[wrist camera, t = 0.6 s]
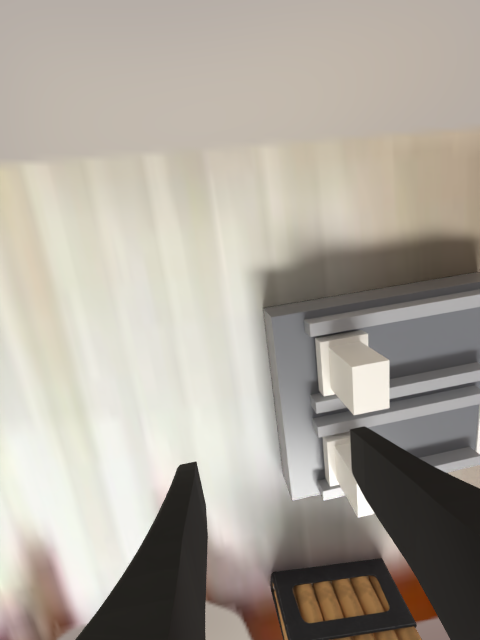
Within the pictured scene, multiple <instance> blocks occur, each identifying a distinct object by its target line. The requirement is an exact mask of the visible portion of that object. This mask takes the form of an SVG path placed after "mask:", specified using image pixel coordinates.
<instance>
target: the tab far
mask: <svg viewBox="0 0 480 640" xmlns="http://www.w3.org/2000/svg"><path fill="white" fill-rule="evenodd" d="M322 438H323V452H324V465H325V478H326V480H327V482H328V484H329V485H330V486H335V485H340V487H341V489H342V490H343V492H344V494H345V496H346V497H347V499H348V501H349V503H350V504H351V506H352V508H353V510H354V511H355V513H356V515H357V517H358V518H359V517H363V516H367V515H372V514H375V513H374V511H373V510H372V508H371V507H370V505H369V504H368V502H367V501H366V499H365V497H364V495H363V494H362V492H361V490H360V488H359V486H358V484H357V482H356V480H355V478H354V476H353V474H352V465H351V443H350V431H349V432H344V433H339V434H334V435H330V436H325V437H322Z"/></svg>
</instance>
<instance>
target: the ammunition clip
mask: <svg viewBox="0 0 480 640" xmlns="http://www.w3.org/2000/svg"><path fill="white" fill-rule="evenodd" d="M271 592H272V596H273V600H274V604H275V608H276V612H277V616H278V620H279V624H280V628H281V632H282V636H283V640H422V639H421V637H420V636H419V634H418V632H417V630H416V622H415V620H414V619H413V617H412V615H411V613H410V611H409V609H408V607H407V605H406V603H405V602H404V600H403V598H402V596H401V594H400V592H399V590H398V588H397V586H396V584H395V582H394V580H393V579H392V577H391V575H390V573H389V571H388V569H387V567H386V565H385V563H384V561H383V560H382V559H373V560H366V561H358V562H350V563H342V564H334V565H327V566H319V567H311V568H303V569H295V570H288V571H280V572H273V574H272V575H271ZM297 604H298V605H297Z"/></svg>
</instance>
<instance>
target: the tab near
mask: <svg viewBox="0 0 480 640" xmlns="http://www.w3.org/2000/svg"><path fill="white" fill-rule="evenodd" d="M315 345H316V358H317V372H318V385H319V391H320V392H321V394H322V395H323V396H328V395H334V394H336V395H337V397H338V398H339V399H340V400H341V401H342V402H343V403H344V405H345V406H346V407H347V408H348V409H349V410H350V411H351V413H352V414H353V415H358V414H363V413H368V412H373V411H378V410H383V409H388V408H390V403H389V360H388V359H387V358H385V357H384V356H382V355H381V354H379V353H378V352H376V351H374V350H373V349H371V348H370V347H368V333H366V332H364V331H362V330H358V331H352V332H347V333H341V334H336V335H330V336H325V337H319V338H315Z"/></svg>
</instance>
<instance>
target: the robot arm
mask: <svg viewBox="0 0 480 640" xmlns="http://www.w3.org/2000/svg"><path fill="white" fill-rule="evenodd" d="M350 443H351V465H352V474H353V476H354V478H355V480H356V482H357V484H358V486H359V488H360V490H361V492H362V494H363V495H364V497H365V499H366V501H367V502H368V504H369V505H370V507H371V508H372V510H373V511H374V513H375V514H376V516H377V517H378V519H379V521H380V522H381V524H382V525H383V527H384V528H385V530H386V531H387V533H388V534H389V535H390V537H391V538H392V540H393V541H394V543H395V544H396V546H397V547H398V549H399V550H400V552H401V553H402V555H403V556H404V558H405V559H406V561H407V563H408V564H409V566H410V567H411V569H412V571H413V572H414V574H415V576H416V577H417V579H418V581H419V583H420V585H421V586H422V588H423V590H424V592H425V594H426V595H427V597H428V599H429V601H430V602H431V604H432V606H433V608H434V610H435V612H436V613H437V615H438V617H439V619H440V621H441V623H442V625H443V626H444V628H445V630H446V632H447V634H448V636H449V638H450V640H480V488H477V487H475V486H473V485H471V484H468V483H466V482H464V481H462V480H460V479H458V478H456V477H453V476H451V475H449V474H448V473H446V472H444V471H442V470H440V469H438V468H436V467H434V466H432V465H430V464H428V463H427V462H425V461H423V460H421V459H419V458H418V457H416V456H414V455H412V454H411V453H409V452H407V451H405V450H404V449H402V448H400V447H399V446H397V445H395V444H394V443H392V442H390V441H389V440H387V439H386V438H384V437H382V436H381V435H379V434H377V433H376V432H374V431H372V430H371V429H369V428H367V427H365V426H363V427H359V428H354V429H350ZM207 539H208V533H207V517H206V504H205V499H204V495H203V490H202V486H201V481H200V476H199V472H198V467H197V462H191V463H187V464H182V465H180V466H179V467H178V468H177V471H176V474H175V476H174V479H173V481H172V484H171V486H170V489H169V491H168V493H167V495H166V498H165V500H164V502H163V504H162V506H161V508H160V510H159V512H158V514H157V517H156V519H155V521H154V522H153V524H152V526H151V528H150V530H149V532H148V534H147V535H146V537H145V539H144V541H143V543H142V545H141V546H140V548H139V550H138V551H137V553H136V555H135V556H134V558H133V560H132V561H131V563H130V564H129V566H128V568H127V569H126V571H125V572H124V574H123V575H122V577H121V578H120V580H119V581H118V583H117V584H116V586H115V587H114V589H113V590H112V592H111V593H110V595H109V596H108V597H107V599H106V600H105V602H104V603H103V604H102V606H101V607H100V609H99V610H98V611H97V613H96V614H95V615H94V617H93V618H92V619H91V620H90V622H89V623H88V624H87V626H86V627H85V628H84V629H83V631H82V632H81V633H80V635H79V636H78V637H77V638H76V640H205V600H206V571H207Z"/></svg>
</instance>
